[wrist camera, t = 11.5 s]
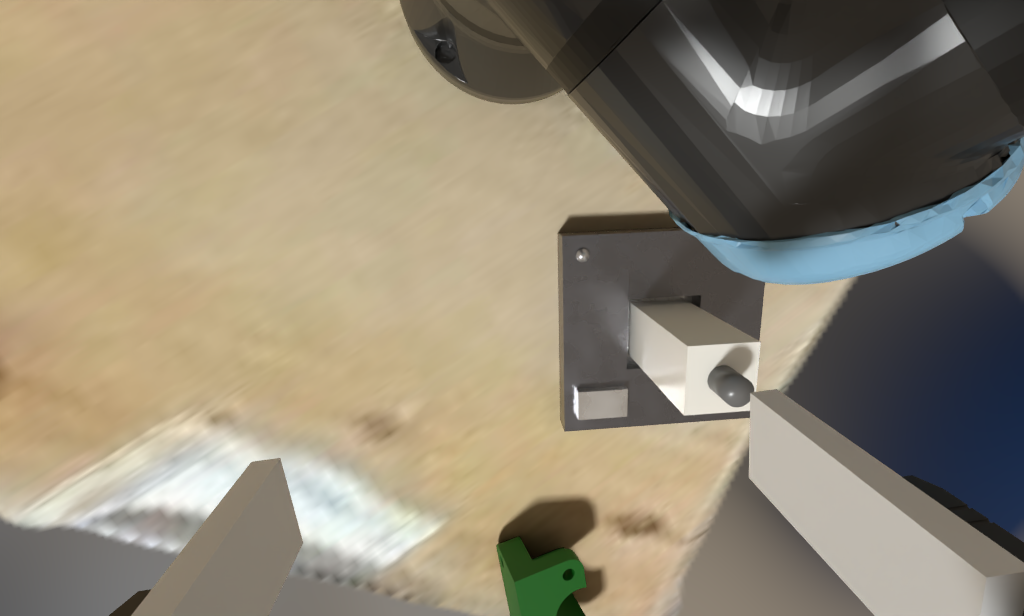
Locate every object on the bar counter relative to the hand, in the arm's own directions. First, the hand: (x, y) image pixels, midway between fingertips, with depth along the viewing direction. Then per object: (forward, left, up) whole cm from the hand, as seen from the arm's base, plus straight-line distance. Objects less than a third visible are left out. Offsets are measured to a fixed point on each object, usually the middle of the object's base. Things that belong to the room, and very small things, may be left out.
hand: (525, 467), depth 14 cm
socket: (+4, +13, -26) cm, 30 cm away
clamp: (+29, +3, -26) cm, 39 cm away
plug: (+4, +13, -26) cm, 29 cm away
